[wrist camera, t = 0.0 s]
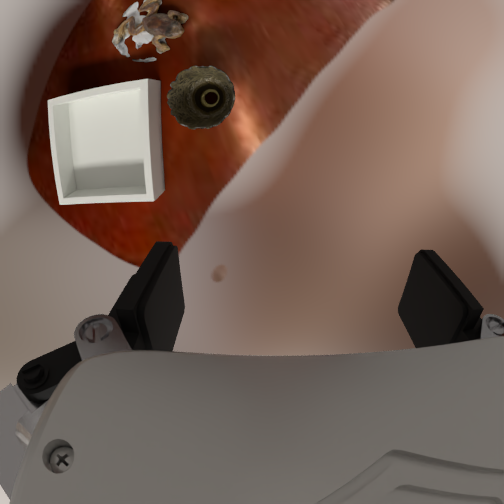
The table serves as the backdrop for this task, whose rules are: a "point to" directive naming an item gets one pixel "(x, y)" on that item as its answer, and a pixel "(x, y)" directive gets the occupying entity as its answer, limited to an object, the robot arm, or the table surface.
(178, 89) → the embossed bronze vase
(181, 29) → the frog figurine
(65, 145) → the bin
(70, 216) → the table surface
